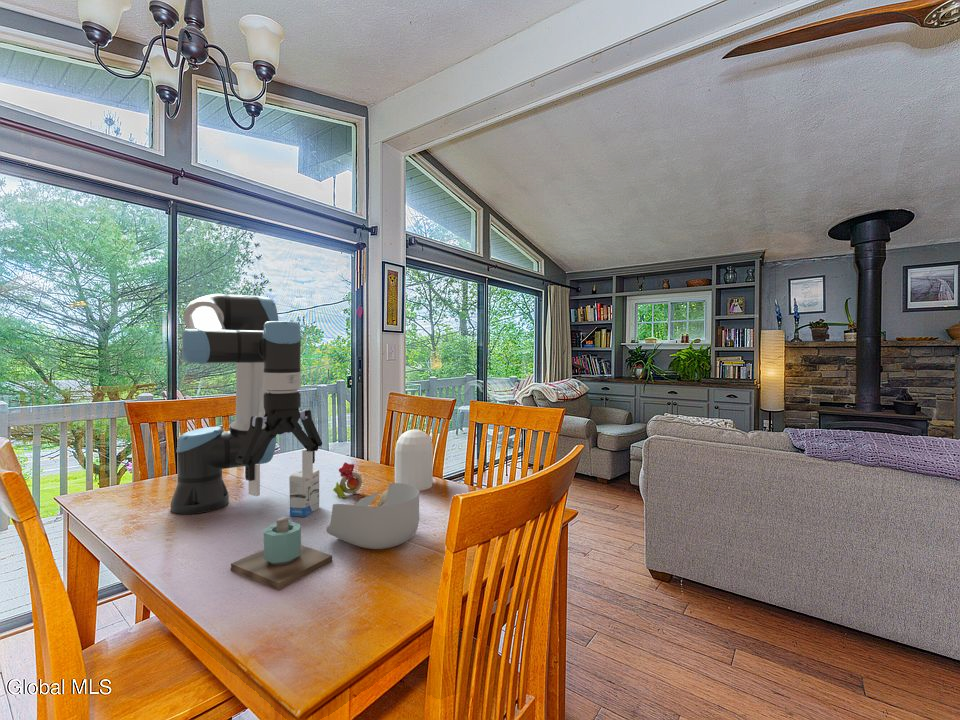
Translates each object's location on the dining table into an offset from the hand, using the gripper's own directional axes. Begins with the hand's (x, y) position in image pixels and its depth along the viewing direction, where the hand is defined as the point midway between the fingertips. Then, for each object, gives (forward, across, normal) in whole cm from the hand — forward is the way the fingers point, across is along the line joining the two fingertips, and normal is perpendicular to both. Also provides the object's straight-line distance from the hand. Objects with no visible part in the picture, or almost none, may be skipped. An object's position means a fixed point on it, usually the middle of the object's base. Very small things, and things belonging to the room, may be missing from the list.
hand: (282, 486), depth 101 cm
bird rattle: (+19, +42, +23) cm, 51 cm away
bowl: (+18, +22, -9) cm, 30 cm away
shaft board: (+18, 0, 0) cm, 18 cm away
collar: (+16, 0, 0) cm, 16 cm away
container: (+19, +62, +11) cm, 66 cm away
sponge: (+18, +38, 0) cm, 42 cm away
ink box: (+18, +25, +23) cm, 38 cm away
